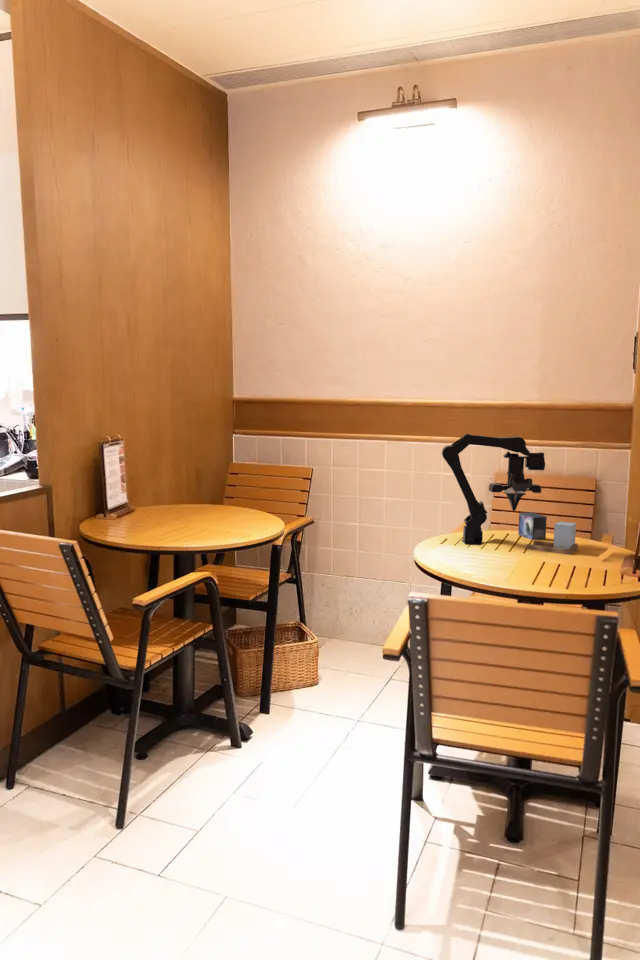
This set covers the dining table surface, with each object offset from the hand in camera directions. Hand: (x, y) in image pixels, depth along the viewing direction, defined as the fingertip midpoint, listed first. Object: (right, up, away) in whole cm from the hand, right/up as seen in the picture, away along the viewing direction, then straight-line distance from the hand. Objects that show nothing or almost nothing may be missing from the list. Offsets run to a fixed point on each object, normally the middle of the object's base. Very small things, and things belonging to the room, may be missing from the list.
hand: (513, 510), depth 294 cm
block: (+14, -14, -16) cm, 25 cm away
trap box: (+10, -15, -13) cm, 23 cm away
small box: (+9, -12, +10) cm, 18 cm away
